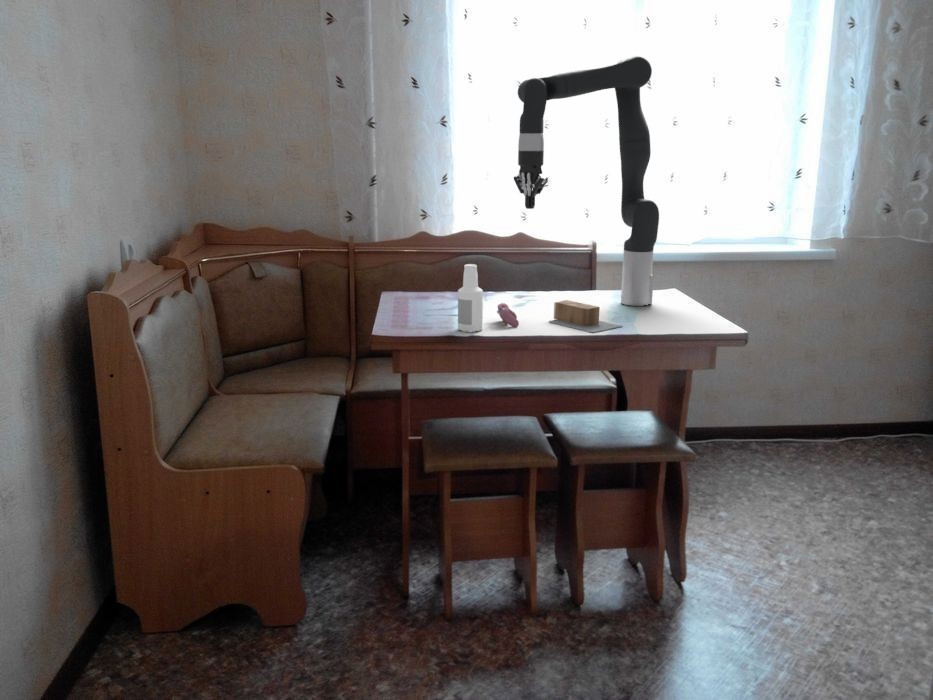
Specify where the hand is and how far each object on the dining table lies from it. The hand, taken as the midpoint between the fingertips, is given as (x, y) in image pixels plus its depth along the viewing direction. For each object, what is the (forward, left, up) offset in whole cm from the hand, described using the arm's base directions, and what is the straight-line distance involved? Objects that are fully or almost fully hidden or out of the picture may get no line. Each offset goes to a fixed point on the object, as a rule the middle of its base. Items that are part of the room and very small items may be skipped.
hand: (529, 208), depth 240 cm
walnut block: (-7, +15, -28) cm, 33 cm away
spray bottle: (+20, +28, -31) cm, 46 cm away
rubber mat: (-13, +23, -31) cm, 41 cm away
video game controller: (+9, +21, -31) cm, 39 cm away
